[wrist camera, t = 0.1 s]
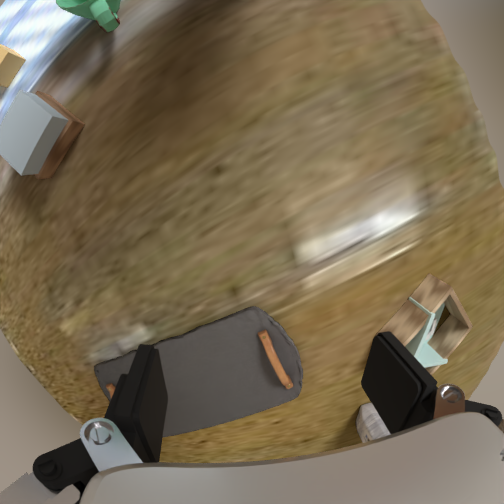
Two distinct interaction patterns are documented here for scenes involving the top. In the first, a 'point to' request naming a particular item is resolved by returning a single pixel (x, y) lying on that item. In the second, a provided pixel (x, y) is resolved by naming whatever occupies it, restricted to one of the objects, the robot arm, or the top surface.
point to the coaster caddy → (414, 318)
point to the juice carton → (370, 424)
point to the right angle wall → (426, 339)
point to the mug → (94, 11)
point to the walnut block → (59, 138)
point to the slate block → (29, 132)
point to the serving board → (220, 371)
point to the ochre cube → (9, 65)
